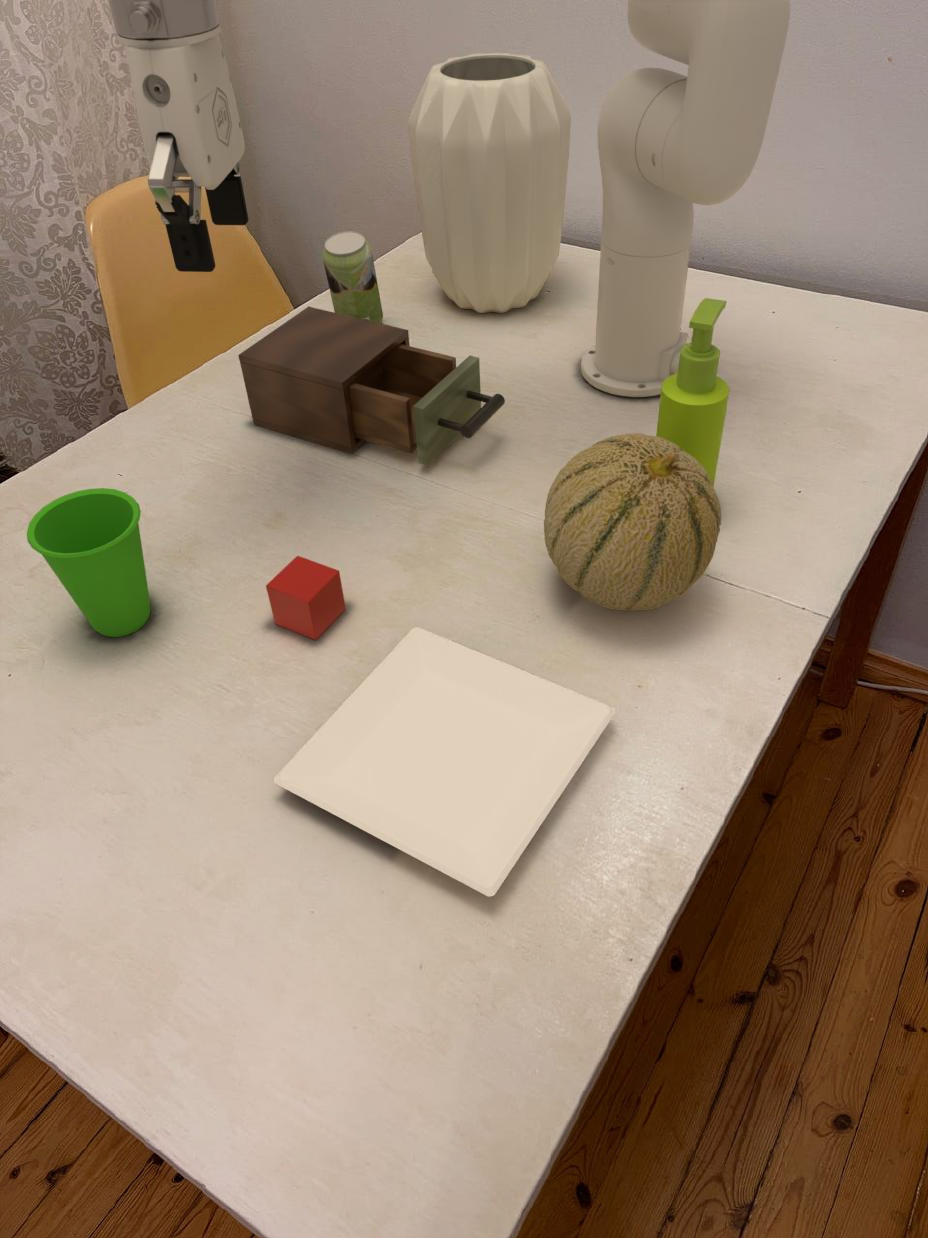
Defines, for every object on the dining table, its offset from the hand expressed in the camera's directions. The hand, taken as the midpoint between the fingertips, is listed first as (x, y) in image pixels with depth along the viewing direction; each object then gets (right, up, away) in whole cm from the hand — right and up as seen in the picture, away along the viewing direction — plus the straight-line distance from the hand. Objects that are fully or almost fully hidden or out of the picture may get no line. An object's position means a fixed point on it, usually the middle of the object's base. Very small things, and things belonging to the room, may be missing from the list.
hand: (214, 245), depth 82 cm
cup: (-9, -32, +4) cm, 33 cm away
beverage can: (+8, +6, +43) cm, 44 cm away
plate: (+20, -43, -9) cm, 48 cm away
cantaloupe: (+36, -29, +4) cm, 46 cm away
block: (+8, -32, +3) cm, 33 cm away
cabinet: (+7, -8, +28) cm, 30 cm away
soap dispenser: (+43, -21, +13) cm, 49 cm away
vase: (+25, +12, +48) cm, 56 cm away
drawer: (+17, -11, +23) cm, 30 cm away
